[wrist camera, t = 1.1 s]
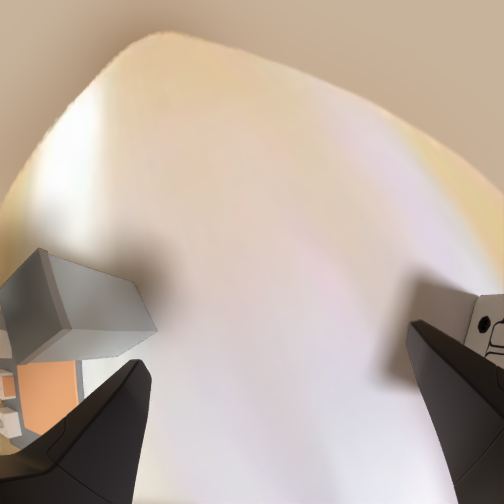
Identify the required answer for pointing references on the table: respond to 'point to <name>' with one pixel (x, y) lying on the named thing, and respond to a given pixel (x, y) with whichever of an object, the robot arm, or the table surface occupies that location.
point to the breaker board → (35, 393)
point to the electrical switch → (488, 328)
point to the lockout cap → (70, 312)
